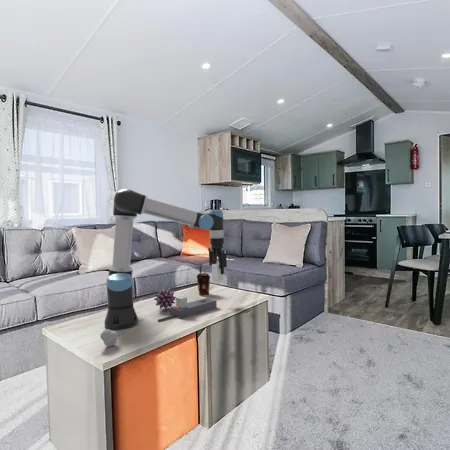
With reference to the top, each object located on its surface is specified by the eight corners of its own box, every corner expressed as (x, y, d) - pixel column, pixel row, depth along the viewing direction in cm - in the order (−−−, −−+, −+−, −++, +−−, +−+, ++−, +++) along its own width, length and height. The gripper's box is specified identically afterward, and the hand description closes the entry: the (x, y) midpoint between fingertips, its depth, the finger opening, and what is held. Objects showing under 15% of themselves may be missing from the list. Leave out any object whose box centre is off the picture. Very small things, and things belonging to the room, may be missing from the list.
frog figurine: (98, 346, 136) (97, 329, 136) (116, 341, 140) (115, 325, 140) (102, 351, 131) (102, 333, 131) (120, 346, 135) (120, 329, 135)
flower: (152, 313, 176) (151, 290, 176) (156, 306, 188) (155, 285, 188) (174, 312, 177) (173, 290, 176) (177, 305, 189) (176, 284, 188)
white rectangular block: (217, 285, 186) (217, 265, 185) (212, 284, 189) (211, 264, 188) (224, 284, 189) (224, 264, 188) (219, 282, 192) (218, 263, 192)
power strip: (162, 323, 160) (162, 313, 160) (153, 319, 166) (153, 310, 166) (216, 307, 183) (216, 299, 183) (207, 304, 189) (207, 296, 189)
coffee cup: (194, 296, 208) (194, 275, 207) (199, 292, 216) (198, 272, 215) (208, 296, 206) (208, 275, 205) (212, 293, 214) (211, 273, 213)
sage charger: (180, 308, 170) (180, 299, 169) (176, 307, 173) (175, 297, 172) (187, 307, 172) (186, 297, 172) (182, 305, 175) (182, 296, 175)
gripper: (232, 237, 183) (234, 280, 185) (211, 236, 196) (213, 275, 198) (222, 239, 178) (223, 282, 180) (201, 237, 191) (203, 278, 193)
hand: (218, 279), depth 189 cm, fingers closed on white rectangular block, 5 cm apart
